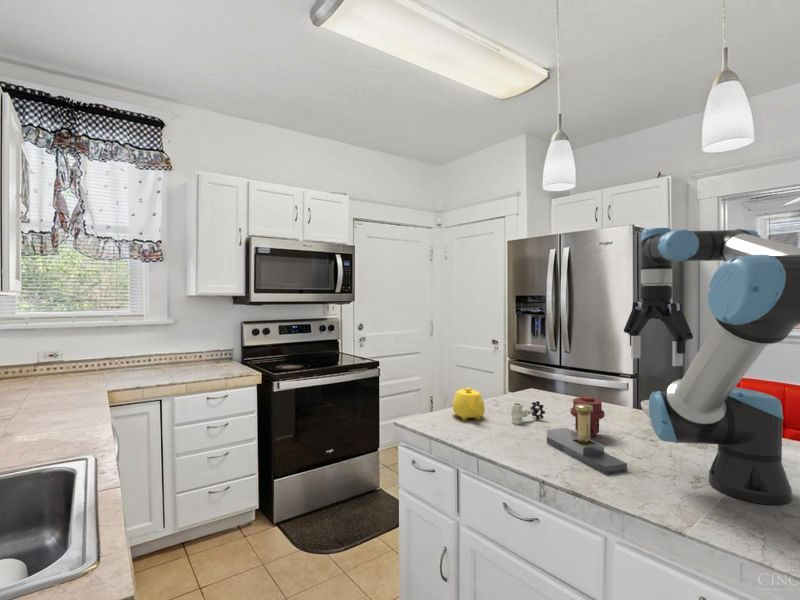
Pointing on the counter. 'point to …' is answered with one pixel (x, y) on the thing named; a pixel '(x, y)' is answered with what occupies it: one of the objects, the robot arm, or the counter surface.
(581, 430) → the brass knob
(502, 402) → the counter surface
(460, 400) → the teapot
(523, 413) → the valve
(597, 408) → the mechanical component
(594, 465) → the plate with square socket
